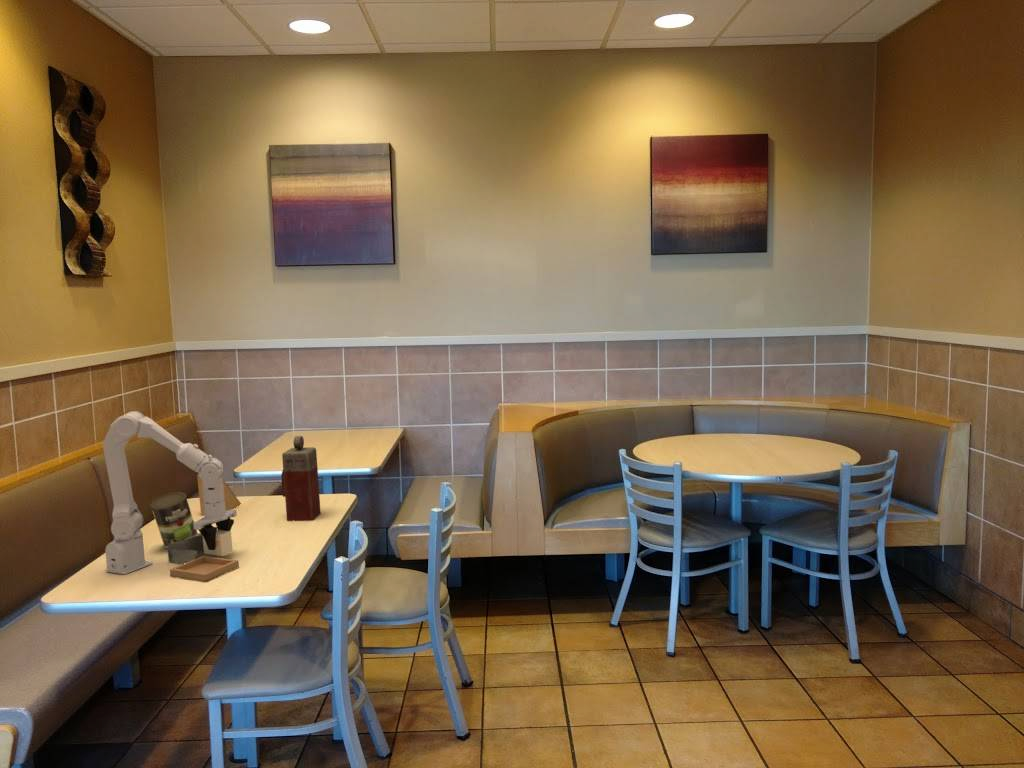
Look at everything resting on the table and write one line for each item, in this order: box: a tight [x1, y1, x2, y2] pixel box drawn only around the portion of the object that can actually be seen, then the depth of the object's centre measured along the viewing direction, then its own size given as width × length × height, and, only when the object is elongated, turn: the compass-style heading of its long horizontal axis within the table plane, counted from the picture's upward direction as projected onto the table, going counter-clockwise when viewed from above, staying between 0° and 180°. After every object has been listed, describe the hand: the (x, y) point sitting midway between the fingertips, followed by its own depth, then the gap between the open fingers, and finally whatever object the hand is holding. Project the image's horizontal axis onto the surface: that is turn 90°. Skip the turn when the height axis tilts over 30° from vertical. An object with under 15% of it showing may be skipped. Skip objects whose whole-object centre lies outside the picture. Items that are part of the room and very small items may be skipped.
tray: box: [169, 556, 240, 583], centre depth 219 cm, size 12×13×2 cm
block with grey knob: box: [203, 529, 234, 557], centre depth 230 cm, size 4×7×7 cm, turn 65°
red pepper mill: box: [280, 435, 322, 522], centre depth 270 cm, size 9×11×28 cm
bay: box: [166, 532, 219, 564], centre depth 233 cm, size 14×10×5 cm
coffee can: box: [149, 491, 198, 549], centre depth 243 cm, size 10×10×14 cm
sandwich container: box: [197, 474, 242, 517], centre depth 285 cm, size 9×15×15 cm, turn 174°
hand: (217, 547), depth 230 cm, fingers closed on block with grey knob, 4 cm apart
